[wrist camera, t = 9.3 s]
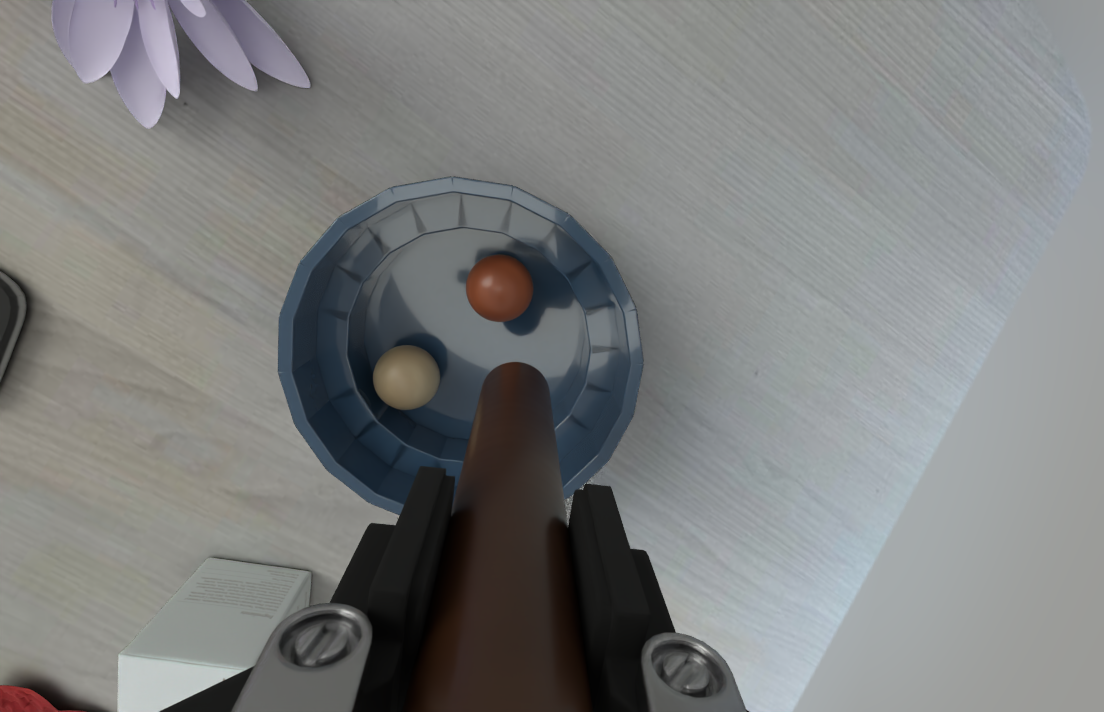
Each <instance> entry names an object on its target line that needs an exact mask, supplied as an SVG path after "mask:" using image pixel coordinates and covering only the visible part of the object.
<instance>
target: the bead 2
mask: <svg viewBox="0 0 1104 712" xmlns="http://www.w3.org/2000/svg"><path fill="white" fill-rule="evenodd" d="M466 294H467V298H468V301H469V303H470V305H471V307H472V308H473V309H474V310H475V312H476V313H478V314H479V315H480V316H481V317H483V318H485V319H487V320H490V321H494V322H506V321H510V320H513V319H515V318H517V317H518V316H520V315H521V314H522V313H523V312H524V311H525V310H526V309H527V308H528V306H529V304H530V302H531V299H532V296H533V281H532V278H531V275H530V273H529V271H528V270H527V268H526V267H525V266H524V265H523V264H522V263H521V262H520V261H518V260H517V259H515V258H513V257H511V256H508V255H501V254H498V255H491V256H488V257H485V258H483V259H481V260H480V261H479V262H477V263H476V264H475V265H474V267H473V268H472V269H471V271H470V273H469V275H468V278H467V281H466Z"/></svg>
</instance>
